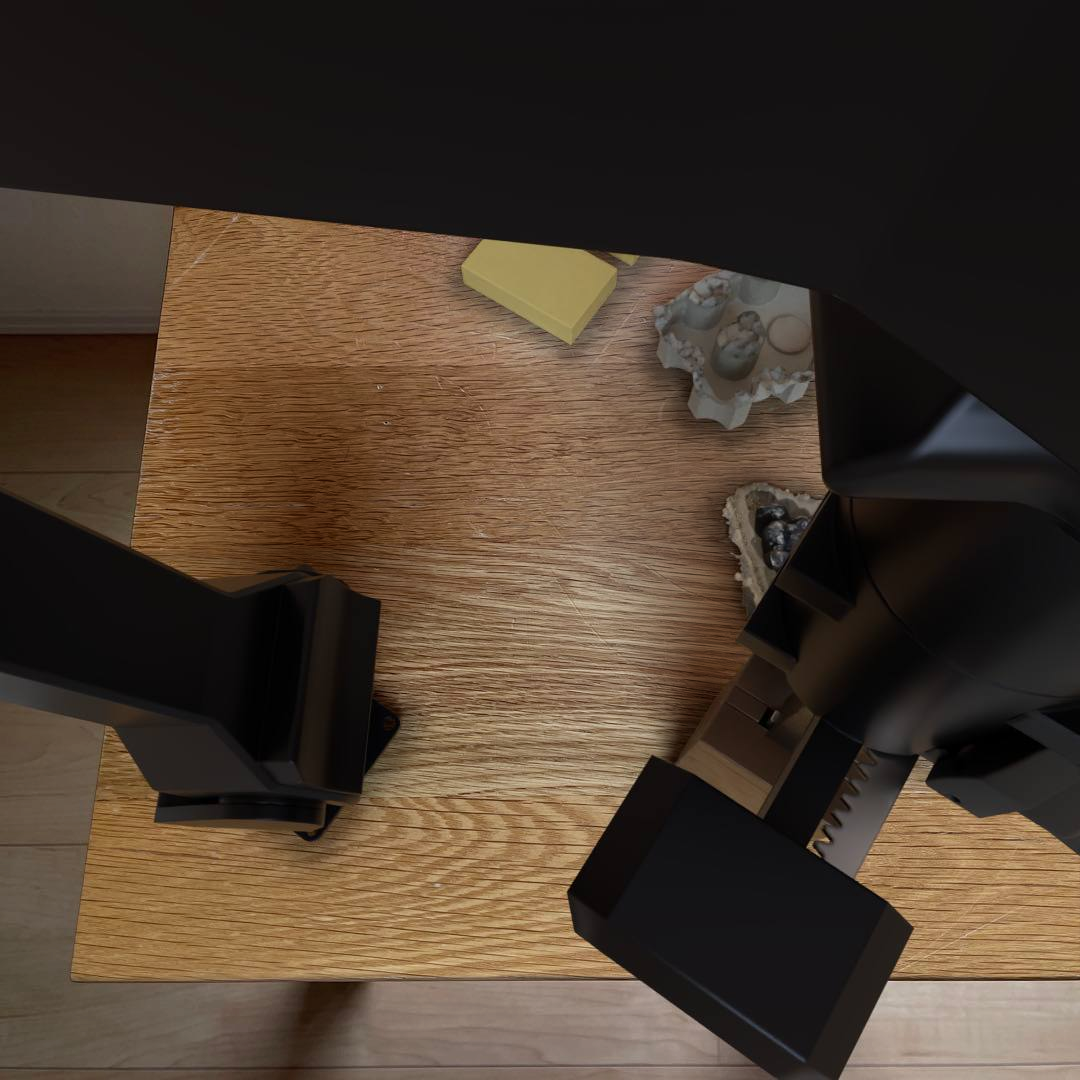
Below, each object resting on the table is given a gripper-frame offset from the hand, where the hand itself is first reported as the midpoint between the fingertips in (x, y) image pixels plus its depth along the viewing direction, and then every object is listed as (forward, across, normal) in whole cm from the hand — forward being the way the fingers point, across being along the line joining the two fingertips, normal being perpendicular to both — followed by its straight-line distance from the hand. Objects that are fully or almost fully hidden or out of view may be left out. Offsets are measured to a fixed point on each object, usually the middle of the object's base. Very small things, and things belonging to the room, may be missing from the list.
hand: (801, 702), depth 30 cm
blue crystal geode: (+13, +10, +3) cm, 17 cm away
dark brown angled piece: (+5, 0, -1) cm, 5 cm away
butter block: (+13, +16, +21) cm, 30 cm away
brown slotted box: (+13, 0, -1) cm, 13 cm away
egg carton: (+13, +19, +9) cm, 25 cm away
